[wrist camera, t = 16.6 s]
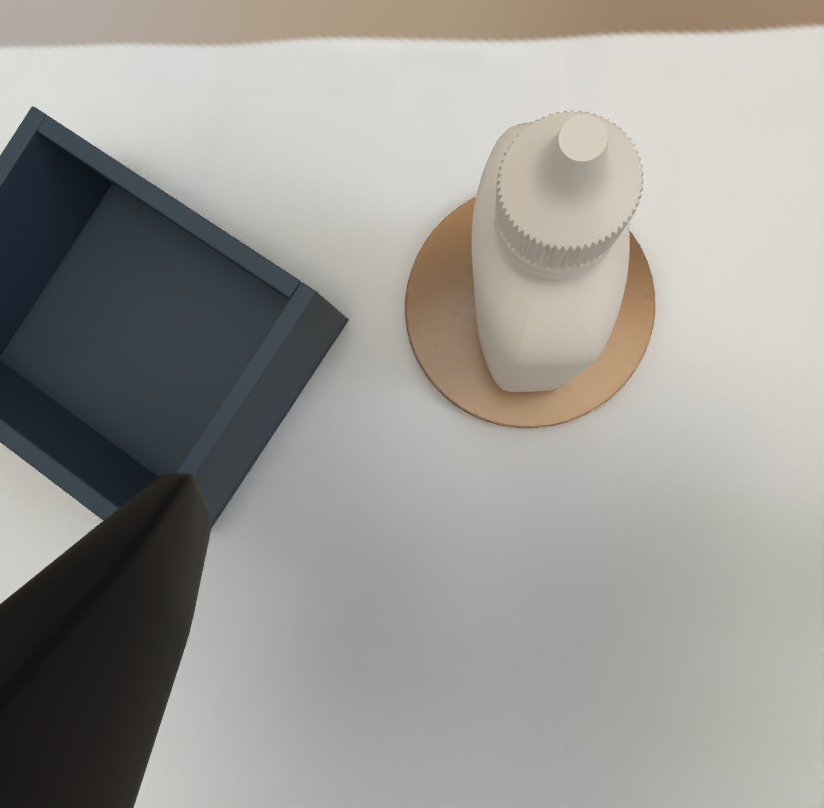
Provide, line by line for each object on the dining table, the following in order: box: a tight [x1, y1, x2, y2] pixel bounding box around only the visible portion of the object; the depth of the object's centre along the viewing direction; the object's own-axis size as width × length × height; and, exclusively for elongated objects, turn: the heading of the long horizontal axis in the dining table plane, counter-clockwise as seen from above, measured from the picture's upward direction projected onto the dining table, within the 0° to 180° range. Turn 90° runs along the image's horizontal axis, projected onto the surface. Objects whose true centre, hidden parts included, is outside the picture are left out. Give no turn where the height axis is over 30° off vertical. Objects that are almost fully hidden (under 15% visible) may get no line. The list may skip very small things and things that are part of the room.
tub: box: [0, 106, 349, 528], centre depth 21 cm, size 11×9×4 cm
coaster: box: [405, 197, 655, 428], centre depth 21 cm, size 8×8×1 cm
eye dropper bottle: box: [472, 111, 644, 392], centre depth 15 cm, size 4×6×12 cm
